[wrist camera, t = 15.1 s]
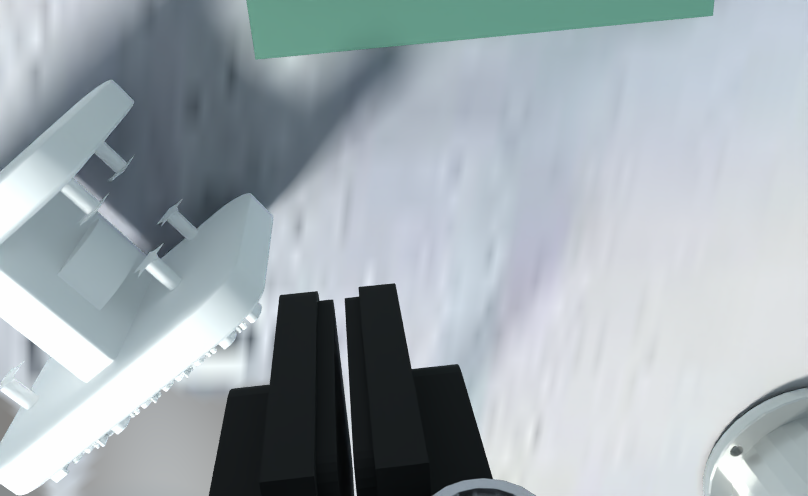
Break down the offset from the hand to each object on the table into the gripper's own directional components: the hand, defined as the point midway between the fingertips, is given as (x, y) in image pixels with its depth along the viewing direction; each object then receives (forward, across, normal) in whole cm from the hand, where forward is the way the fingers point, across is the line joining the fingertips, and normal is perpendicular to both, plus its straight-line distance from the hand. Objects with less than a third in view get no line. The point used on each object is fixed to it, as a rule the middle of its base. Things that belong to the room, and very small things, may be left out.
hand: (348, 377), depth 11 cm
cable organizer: (+29, +12, +8) cm, 32 cm away
